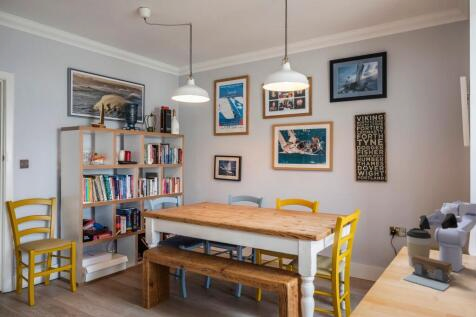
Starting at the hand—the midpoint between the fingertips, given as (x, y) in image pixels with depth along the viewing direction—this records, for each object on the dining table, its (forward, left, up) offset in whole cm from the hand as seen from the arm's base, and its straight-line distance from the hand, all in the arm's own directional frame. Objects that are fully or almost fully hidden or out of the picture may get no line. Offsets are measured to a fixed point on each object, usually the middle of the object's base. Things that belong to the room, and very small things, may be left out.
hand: (431, 226), depth 121 cm
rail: (-3, -1, -16) cm, 17 cm away
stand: (-3, -1, -19) cm, 20 cm away
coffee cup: (-12, -9, -20) cm, 25 cm away
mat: (+4, 0, -19) cm, 20 cm away
